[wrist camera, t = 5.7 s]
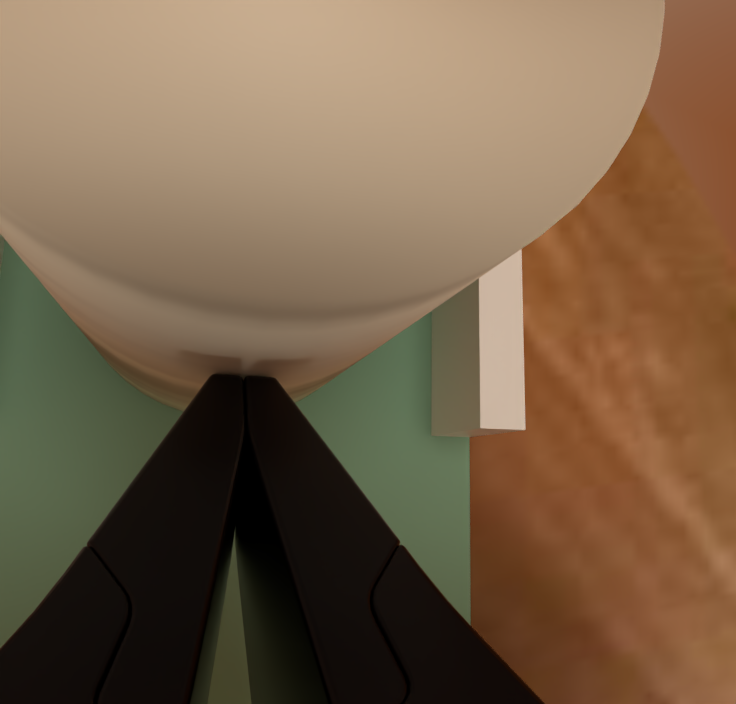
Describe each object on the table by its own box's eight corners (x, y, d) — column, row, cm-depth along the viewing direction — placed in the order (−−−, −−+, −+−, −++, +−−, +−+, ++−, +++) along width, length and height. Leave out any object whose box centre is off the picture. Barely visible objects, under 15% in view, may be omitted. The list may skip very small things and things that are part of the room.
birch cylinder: (370, 422, 16) (690, 333, 6) (57, 412, 15) (-310, 256, 4) (374, 153, 17) (642, -331, 7) (86, 115, 16) (-135, -596, 5)
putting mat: (456, 912, 16) (473, 940, 15) (-131, 994, 13) (-157, 1037, 12) (453, 61, 20) (466, 40, 19) (4, -18, 17) (-7, -47, 16)
